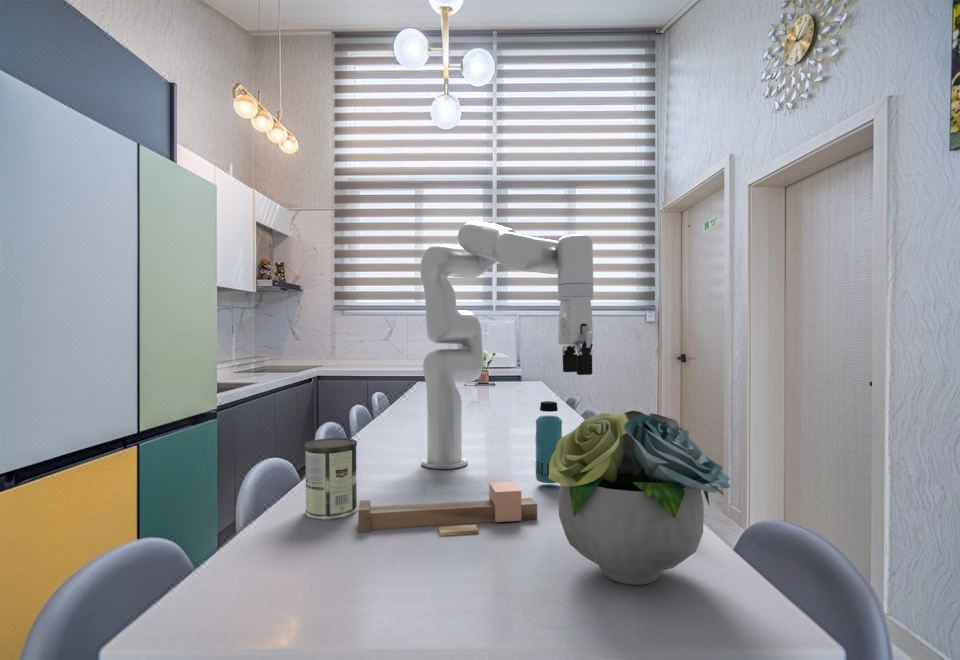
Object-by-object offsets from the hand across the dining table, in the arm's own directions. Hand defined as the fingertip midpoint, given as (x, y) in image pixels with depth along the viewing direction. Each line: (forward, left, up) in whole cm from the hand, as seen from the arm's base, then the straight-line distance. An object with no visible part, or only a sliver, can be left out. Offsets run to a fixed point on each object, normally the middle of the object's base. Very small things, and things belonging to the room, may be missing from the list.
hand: (577, 373), depth 120 cm
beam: (+7, -27, -28) cm, 40 cm away
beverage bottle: (-13, -2, -28) cm, 31 cm away
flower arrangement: (+35, -4, -28) cm, 45 cm away
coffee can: (-3, -51, -28) cm, 59 cm away
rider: (+7, -17, -28) cm, 33 cm away
